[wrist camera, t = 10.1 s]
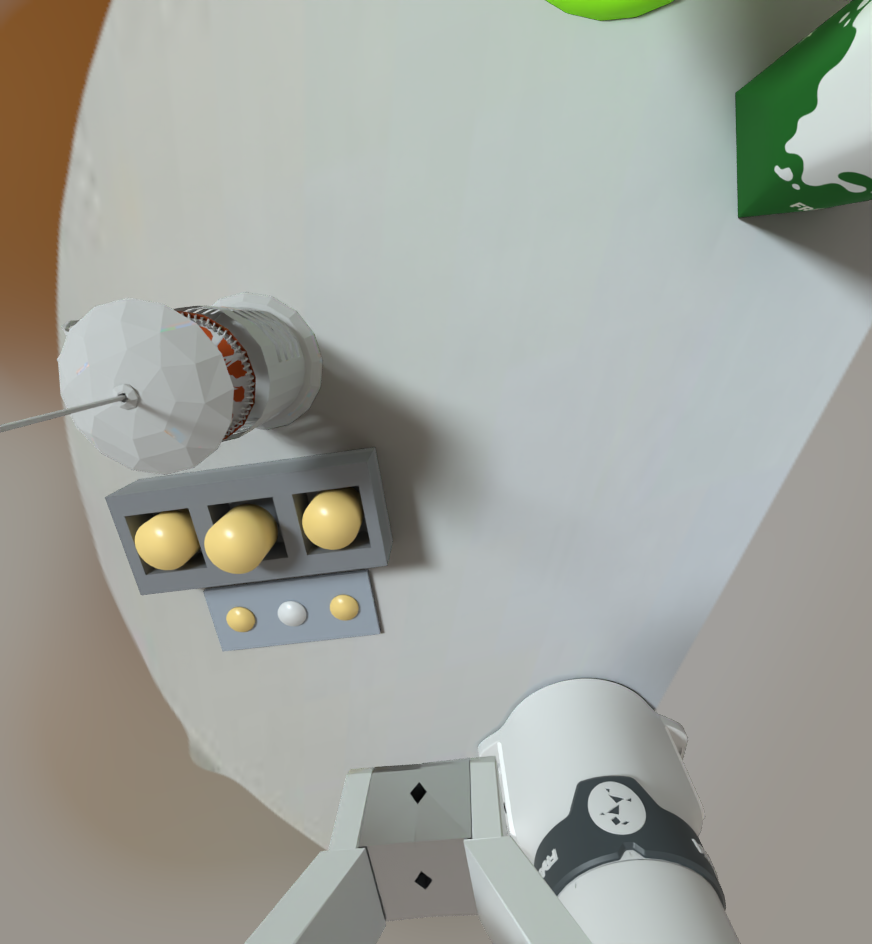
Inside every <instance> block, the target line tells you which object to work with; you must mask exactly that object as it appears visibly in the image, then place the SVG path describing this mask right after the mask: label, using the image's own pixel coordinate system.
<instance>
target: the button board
mask: <svg viewBox="0 0 872 944" xmlns="http://www.w3.org/2000/svg"><path fill="white" fill-rule="evenodd" d="M344 487H352V488H354V489H355V490H357V491H358V492H359V493H360V495H361V500H362V505H363V510H364V515H365V516H364V519H363V521H362V524H361V526H360V529H359V531H358V534H357V536H356V538H355V539H354V540H353V542H352V543H350V544H349V545H348V546H346V547H344V548H341V549H336V550H329V549H324V548H321V547H319V546H317V545H315V544H314V543H313V542H312V541H310V539H309V538H308V537H307V536H306V534H305V532H304V529H303V525H302V519H303V514H304V512H305V510H306V508H307V507H308V506H309V504H310V503H311V501H312V500H313V499H314V497H315V496H316V495H317V493H318V492H319V491H321V490H329V489H336V488H344ZM105 499H106V502H107V504H108V507H109V510H110V513H111V515H112V518H113V521H114V523H115V526H116V529H117V532H118V534H119V537H120V540H121V542H122V545H123V548H124V550H125V553H126V556H127V559H128V561H129V564H130V567H131V569H132V572H133V575H134V578H135V580H136V583H137V586H138V588H139V591H140V594H141V595H147V594H156V593H164V592H172V591H181V590H189V589H197V588H206V587H214V586H222V585H231V584H239V583H247V582H255V581H264V580H272V579H280V578H289V577H297V576H305V575H314V574H322V573H330V572H339V571H347V570H355V569H363V568H372V567H380V566H387V565H388V560H389V556H390V552H391V548H392V544H393V539H392V534H391V529H390V523H389V518H388V513H387V507H386V502H385V497H384V491H383V486H382V481H381V476H380V470H379V465H378V460H377V454H376V449H375V447H373V448H366V449H358V450H351V451H344V452H336V453H329V454H322V455H314V456H307V457H300V458H292V459H285V460H278V461H270V462H263V463H256V464H248V465H241V466H234V467H226V468H219V469H212V470H204V471H197V472H190V473H182V474H175V475H168V476H160V477H153V478H146V479H138V480H137V481H135V482H133V483H131V484H129V485H127V486H125V487H123V488H121V489H120V490H118V491H116V492H114V493H112V494H110V495H108V496H106V497H105ZM241 504H255V505H258V506H260V507H262V508H264V509H266V510H267V511H268V512H269V513H270V514H271V515H272V516H273V517H274V519H275V521H276V523H277V526H278V537H277V540H276V542H275V544H274V545H273V547H272V548H271V549H270V551H269V552H268V553H267V555H266V556H265V557H264V559H263V560H262V561H261V562H260V564H259V565H258V566H257V567H256V568H255V569H253V570H252V571H250V572H247V573H243V574H233V573H228V572H225V571H223V570H221V569H219V568H218V567H217V566H215V565H214V564H213V563H212V562H211V560H210V559H209V557H208V556H207V554H206V551H205V545H204V541H205V536H206V534H207V532H208V530H209V529H210V528H211V527H212V526H213V525H214V524H215V523H216V522H218V521H219V520H220V519H221V518H222V517H223V516H224V515H225V514H227V513H228V512H229V511H230V510H231V509H232V508H234V507H236V506H238V505H241ZM184 508H188V509H189V512H190V515H191V518H192V521H193V525H194V528H195V531H196V534H197V537H198V540H199V543H200V547H201V549H200V550H199V551H198V552H196V553H195V554H194V555H193V556H192V557H191V558H190V559H189V560H188V561H187V562H186V563H185V564H184V565H183V566H181V567H179V568H177V569H174V570H161V569H157V568H155V567H153V566H151V565H149V564H148V563H146V562H145V561H144V560H143V559H142V558H141V556H140V555H139V553H138V552H137V549H136V546H135V535H136V532H137V530H138V529H139V527H141V526H142V525H143V524H144V523H146V522H147V521H149V520H150V519H151V518H153V517H154V516H156V515H157V514H159V513H160V512H162V511H169V510H177V509H184ZM203 592H204V595H205V598H206V601H207V604H208V608H209V611H210V614H211V617H212V620H213V623H214V626H215V629H216V632H217V635H218V638H219V641H220V644H221V648H222V651H230V650H239V649H248V648H257V647H266V646H275V645H284V644H293V643H302V642H311V641H320V640H329V639H338V638H347V637H356V636H365V635H374V634H380V631H381V630H380V626H379V621H378V616H377V611H376V606H375V602H374V597H373V592H372V587H371V583H370V578H369V573H368V569H367V570H359V571H351V572H342V573H334V574H326V575H317V576H309V577H301V578H292V579H284V580H276V581H267V582H259V583H251V584H242V585H234V586H226V587H218V588H209V589H205V590H204V591H203Z"/></svg>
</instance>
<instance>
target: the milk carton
mask: <svg viewBox="0 0 872 944" xmlns="http://www.w3.org/2000/svg"><path fill="white" fill-rule="evenodd" d="M735 98H736V144H737V191H738V218H741V217H750V216H760V215H770V214H780V213H790V212H799V211H809V210H817V209H824V208H830V207H834V206H839V205H844V204H850V203H856V202H862V201H867V200H872V0H852V1H851V2H850V3H849V4H847V5H846V6H845V7H843V8H842V9H841V10H840V11H838V12H837V13H836V14H834V15H833V16H832V17H831V18H829V19H828V20H827V21H825V22H824V23H823V24H822V25H820V26H819V27H818V28H816V29H815V30H814V31H813V32H811V33H810V34H809V35H808V36H806V37H805V38H804V39H803V40H801V41H800V42H799V43H798V44H796V45H795V46H794V47H793V48H791V49H790V50H789V51H788V52H786V53H785V54H784V55H783V56H781V57H780V58H779V59H778V60H776V61H775V62H774V63H773V64H771V65H770V66H769V67H768V68H766V69H765V70H764V71H763V72H761V73H760V74H759V75H758V76H756V77H755V78H754V79H753V80H751V81H750V82H749V83H748V84H746V85H745V86H744V87H742V88H741V89H740V90H739V91H737V92H736V93H735Z"/></svg>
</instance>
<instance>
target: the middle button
mask: <svg viewBox="0 0 872 944" xmlns="http://www.w3.org/2000/svg"><path fill="white" fill-rule="evenodd" d="M277 537H278V526H277V523H276V521H275V519H274V517H273V516H272V515H271V514H270V513H269V512H268V511H267V510H266V509H264V508H262V507H260V506H258V505H255V504H241V505H238V506H236V507H234V508H232V509H231V510H230V511H229V512H228V513H227V514H225V515H224V516H223V517H222V518H221V519H220V520H219V521H218V522H216V523H215V524H214V525H213V526H212V527H211V528H210V529H209V530H208V532H207V534H206V536H205V541H204V545H205V551H206V554H207V556H208V557H209V559H210V560H211V562H212V563H213V564H214V565H215V566H217V567H218V568H219V569H221V570H223V571H225V572H228V573H233V574H243V573H247V572H250V571H252V570H253V569H255V568H256V567H257V566H258V565H259V564H260V562H261V561H262V560H263V559H264V557H265V556H266V555H267V553H268V552H269V551H270V549H271V548H272V547H273V545H274V544H275V542H276V540H277Z"/></svg>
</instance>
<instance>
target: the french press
mask: <svg viewBox="0 0 872 944" xmlns="http://www.w3.org/2000/svg"><path fill="white" fill-rule="evenodd" d="M199 307H200V308H199ZM192 308H193V309H192ZM202 308H207V309H203V310H201V311H199V312H197V313H193V312H195V311H196V310H198V309H202ZM187 309H191V310H189V311H188V312H183V311H185V310H187ZM203 312H204V313H203ZM201 313H203V314H201ZM73 325H74V326H73ZM70 326H73V327H72V328H71V329H70V330H69V329H68V328H69V327H70ZM61 327H62V329H63V331H64V333H65V334H66V336H67V338H66V340H65V343H64V346H63V349H62V352H61V354H60V356H59V357H58V359H57V361H58V365H59V377H60V390H61V396H62V398H63V401H64V403H65V405H66V407H67V409H64V410H59V411H56V412H52V413H48V414H43V415H39V416H35V417H31V418H27V419H23V420H19V421H15V422H11V423H7V424H3V425H0V432H4V431H8V430H11V429H15V428H19V427H23V426H27V425H31V424H34V423H38V422H42V421H46V420H50V419H53V418H57V417H61V416H65V415H68V414H70V415H71V417H72V419H73V421H74V424H75V426H76V427H77V429H78V430H79V431H80V432H81V433H82V434H83V435H84V436H85V437H86V438H87V439H88V440H89V441H90V442H91V443H92V444H93V445H94V446H95V447H96V448H97V449H98V451H99V452H100V453H101V454H103V455H105V456H107V457H109V458H111V459H113V460H115V461H116V462H118V463H120V464H122V465H124V466H126V467H128V468H130V469H131V470H136V471H143V472H149V473H156V474H162V475H167V474H171V473H174V472H178V471H182V470H186V469H190V468H194V467H195V466H197V465H198V464H199V463H200V462H202V461H203V460H204V459H206V458H207V457H208V456H209V455H211V454H212V453H213V452H214V451H216V450H217V449H218V447H219V446H220V444H221V442H223V441H227V440H231V439H235V438H239V437H241V436H243V435H244V434H246V433H248V432H250V431H251V430H253V429H254V428H258V429H264V430H267V429H271V428H275V427H279V426H283V425H287V424H290V423H292V422H293V421H294V420H295V419H297V418H298V417H299V416H301V415H302V414H303V413H304V412H306V411H307V410H308V409H309V408H310V406H311V404H312V402H313V400H314V398H315V397H316V395H317V393H318V391H319V389H320V387H321V375H322V362H323V360H322V357H321V354H320V351H319V347H318V344H317V341H316V338H315V334H314V333H313V332H312V330H311V329H310V328H309V327H308V325H307V324H306V323H305V321H304V320H303V319H302V318H301V316H300V315H299V314H298V312H297V311H295V310H294V309H292V308H290V307H289V306H287V305H285V304H284V303H282V302H280V301H279V300H277V299H275V298H274V297H272V296H266V295H259V294H253V293H247V292H244V293H240V294H236V295H233V296H229V297H225V298H222V299H219V300H218V301H217V302H216V303H214V304H213V305H212V306H192V307H184V308H176V309H174V310H173V309H172V308H170V307H168V306H167V305H165V304H161V303H155V302H150V301H144V300H138V299H132V298H125V299H121V300H118V301H114V302H110V303H106V304H102V305H98V306H95V307H94V308H93V309H91V310H90V311H89V312H88V313H87V314H86V315H85V316H84V317H83V318H82V319H81V320H78V321H69V322H67V323H65V324H63V325H62V326H61ZM248 427H250V428H248ZM240 428H247V429H243V430H238V429H240ZM248 429H249V430H248ZM245 430H247V431H245ZM241 431H244V432H241ZM236 432H241V433H237V434H233V433H236Z"/></svg>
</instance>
